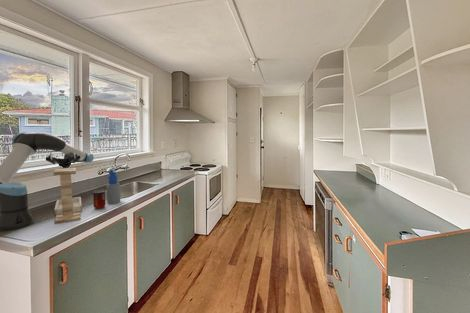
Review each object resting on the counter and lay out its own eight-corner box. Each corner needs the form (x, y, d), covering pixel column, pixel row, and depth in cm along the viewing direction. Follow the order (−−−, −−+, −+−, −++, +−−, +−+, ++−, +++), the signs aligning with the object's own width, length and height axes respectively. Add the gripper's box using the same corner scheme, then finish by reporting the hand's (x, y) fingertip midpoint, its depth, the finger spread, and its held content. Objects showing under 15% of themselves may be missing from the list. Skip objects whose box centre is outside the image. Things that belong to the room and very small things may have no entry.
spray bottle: (122, 201, 171) (121, 169, 169) (111, 204, 164) (109, 170, 161) (116, 199, 176) (114, 168, 173) (104, 202, 168) (102, 169, 166)
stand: (56, 217, 138) (53, 169, 136) (80, 213, 145) (77, 167, 142) (54, 224, 127) (51, 172, 124) (80, 220, 134) (77, 170, 131)
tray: (57, 205, 161) (57, 199, 161) (81, 202, 169) (80, 196, 169) (54, 216, 140) (54, 209, 140) (81, 211, 148) (81, 205, 148)
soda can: (107, 205, 161) (106, 189, 160) (103, 209, 154) (102, 191, 153) (96, 206, 159) (95, 189, 158) (92, 209, 152) (91, 192, 151)
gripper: (84, 167, 183) (84, 157, 167) (44, 170, 169) (39, 159, 152) (83, 159, 185) (83, 148, 169) (43, 161, 171) (39, 149, 155)
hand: (62, 153), depth 161 cm, fingers open, 13 cm apart
